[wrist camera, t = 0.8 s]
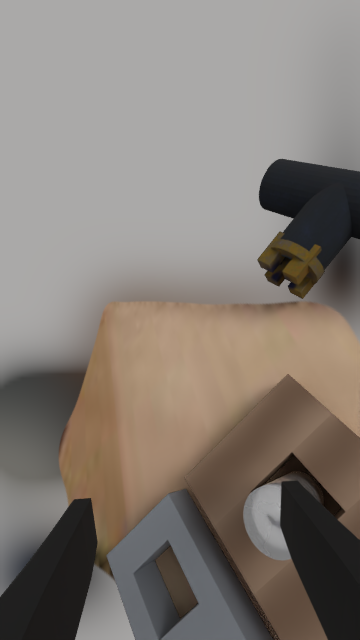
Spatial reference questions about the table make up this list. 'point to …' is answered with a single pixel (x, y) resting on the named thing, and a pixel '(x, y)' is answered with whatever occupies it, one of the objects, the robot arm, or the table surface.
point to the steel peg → (273, 514)
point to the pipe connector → (308, 220)
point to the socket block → (256, 469)
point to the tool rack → (200, 570)
